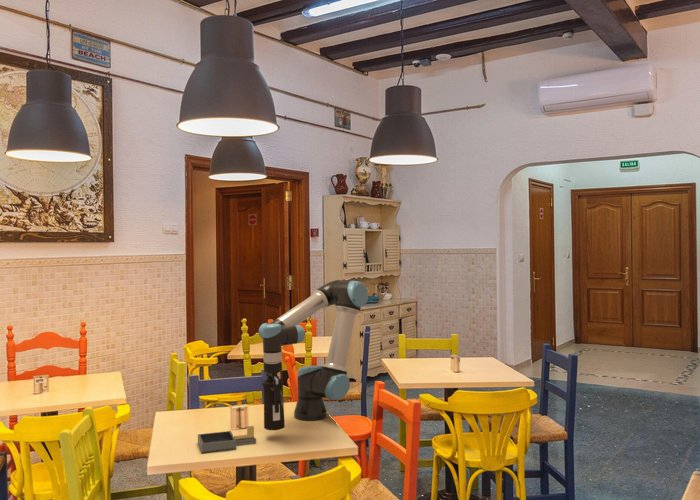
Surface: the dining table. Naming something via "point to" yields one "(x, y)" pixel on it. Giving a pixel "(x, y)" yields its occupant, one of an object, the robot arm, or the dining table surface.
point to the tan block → (249, 434)
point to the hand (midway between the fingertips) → (274, 417)
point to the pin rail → (246, 441)
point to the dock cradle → (216, 442)
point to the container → (268, 406)
